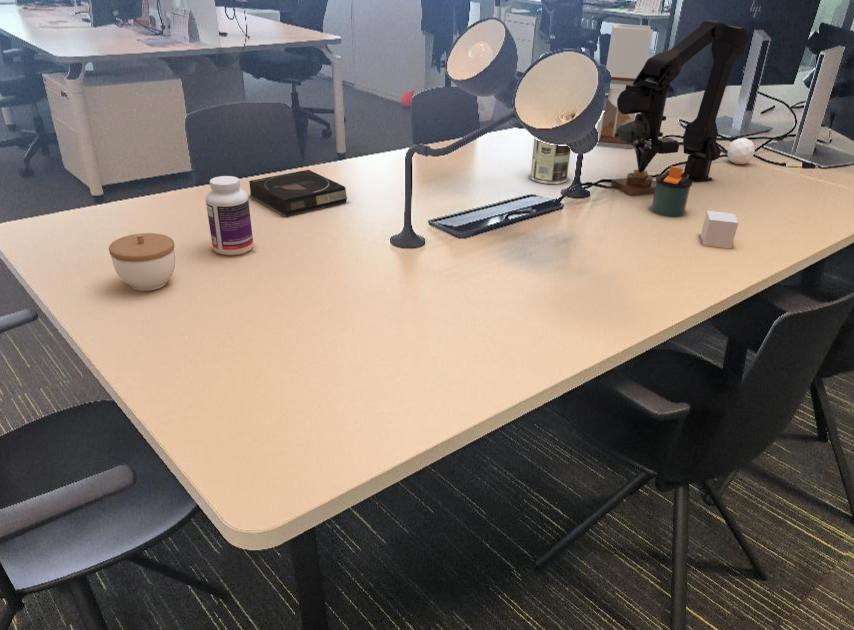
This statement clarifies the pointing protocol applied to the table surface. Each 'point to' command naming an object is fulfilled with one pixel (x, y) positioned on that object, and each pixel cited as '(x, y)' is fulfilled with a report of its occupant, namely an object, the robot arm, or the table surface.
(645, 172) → the call button
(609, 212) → the table surface
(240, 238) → the pill bottle
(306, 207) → the portable cd player
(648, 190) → the block
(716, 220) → the white cube
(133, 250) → the trinket box
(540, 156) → the coffee can
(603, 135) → the white pillar on base
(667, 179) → the slider
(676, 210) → the tumbler
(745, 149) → the geometric ball
